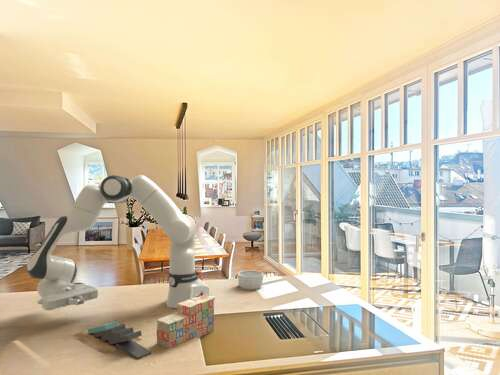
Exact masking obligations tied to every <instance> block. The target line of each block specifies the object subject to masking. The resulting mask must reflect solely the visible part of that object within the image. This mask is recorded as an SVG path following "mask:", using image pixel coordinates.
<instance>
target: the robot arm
mask: <svg viewBox="0 0 500 375" xmlns="http://www.w3.org/2000/svg"><path fill="white" fill-rule="evenodd" d="M129 198H132V199H134V200H135V202H136V201H137V203H138V204H139V206H141V207H142V208H143V209H144V210H145V211H146V212H147V213H148V214H149V215H150V216H151V217H152V219H154V220H155V221H156V223H157V225H158V226H159V228H161V230H162V231H163V232H164V233H165V235H167V236H166V237H168V239H169V240H170V245H169V246H170V248H169V255H168V256H169V272H168V285H169V286H168V291H167V292H168V293H167V299H166V303H165V305H166V306H167V307H168V308H173V309H177V304H178V303H181V302H184V301H186V300H190V299H192V298H194V297H199V296H206V297H210V298H213V299H214V300H215V299H216V297H215V295H214V294H211V293H210V287H209V286H208V285H209V284H207V283H206V282H204V281H203V280H202V279H200V278H199V276H202V275H203V272H202V270H196V269H195V268H196V265H195V262H196V253H195V252H196V239H197V236H196V235H197V225H196V223H197V222H196V221H195V219H194V218H193V217H192V216H191V215H189V214H185V213H183V212H182V211H181V210H180V209H179V208H178V206H177V205H176V204H175V202H174V201H173V200H172V199H171V197H169V196H168V194H166V192H164V190H163V189H161V187H160V186H159V185H157V184H156V182H154V181H153V180H152V179H150V178H149V177H147V176H146V175H144V174H138V175H135V176H134V177H133V178H131V179H130V178H126V177H125V176H119V175H116V174H114V175H109V176H106V177H105V178H104V179H103V180H102V181H101V183H100V186H99V185H95V184H87V185H85V186H84V187H83V188H82V190H80V192H79V194H78V196H77V197H76V199H75V201H74V203H73V206H72V207H71V209H70V210H69V211H68V213H66V215H63V216H61V217H58V219H57V220H56V221H55V223H54V224H53V225H52V227H51V229H50V230H49V231H48V233H47V234H46V236H45V238H44V239H43V241H42V242H41V244H40V245H39V246H38V248H37V250H36V251H35V252H34V253H33V255H32V256H31V257H30V258H29V260H28V261H27V263H26V272H27V273H28V275H29V276H30V277H31V278H32V279H35V280H36V279H37V280H39V282H38V284H37V287H36V290H37V293H38V295H39V297H41V298H40V299H39V300H37V304H39V305H41V307H42V309H44V310H46V311H53V310H56V309H57V310H58V309H60V308H64V307H67V306H72V305H75V306H79V305H83V304H85V302H87V301H90V300H95V299H97V298H98V296H99V290H98V288H97V287H94V286H92V285H89V284H86V283H85V282H74V281H75V279H76V276H77V273H78V268H77V264H76V262H75V260H73V258H67V257H63V256H57V255H52V252H53V251H54V250H55V248H56V246H57V244H58V243H59V242H60V240H61V239H62V238H63V237H64V236H65V235H68V234H71V233H77V232H84V231H88V230H89V229H91V228H93V227H94V226H95V225H96V222H97V221H98V219H99V216H100V214H101V212H102V209H103V207H104V206H105V205H106V204H107V203H108V204H122V203H125V202H126V201H128V200H129ZM73 282H74V283H73Z"/></svg>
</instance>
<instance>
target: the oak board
mask: <svg viewBox="0 0 500 375" xmlns="http://www.w3.org/2000/svg"><path fill="white" fill-rule="evenodd" d="M70 336H71V338H74V339H76V340H78V341H79V342H81V343H84V344H85V345H86V346H89V347H91V349H94V350H95V351H97V352H99V353H101V354H103V355H106V354H108V353H111V352H114V351H117V350H118V349H116V343H115V344H110V345H109V341H108V340H105V341H102V339H101V336H100V337H95V336H94V333H91V334H88V329H86V330H84V331H81V332H78V333H75V334H72V335H70ZM131 340H133V341H135V342H136V343H138V342H139V341H140V342H141V341H142V340H143V339H142V338H140V337H137V338H134V339H131Z"/></svg>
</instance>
